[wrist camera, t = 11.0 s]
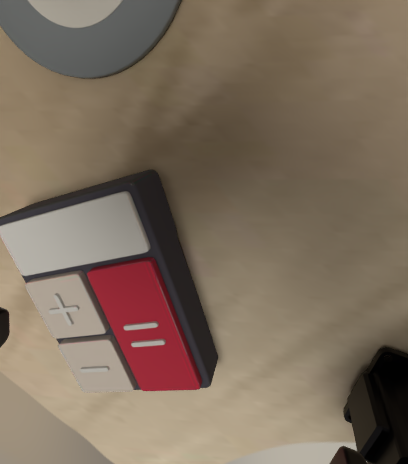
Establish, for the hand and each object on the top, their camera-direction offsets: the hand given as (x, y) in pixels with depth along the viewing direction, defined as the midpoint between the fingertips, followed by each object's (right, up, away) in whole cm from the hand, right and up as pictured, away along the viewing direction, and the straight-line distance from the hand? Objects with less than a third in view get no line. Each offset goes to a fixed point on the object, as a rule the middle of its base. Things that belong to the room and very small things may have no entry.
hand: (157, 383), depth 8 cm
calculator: (-5, 0, +16) cm, 17 cm away
